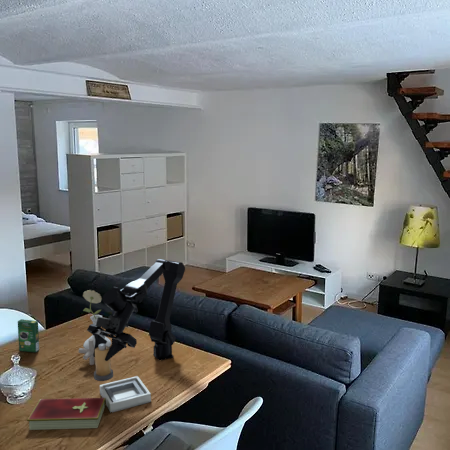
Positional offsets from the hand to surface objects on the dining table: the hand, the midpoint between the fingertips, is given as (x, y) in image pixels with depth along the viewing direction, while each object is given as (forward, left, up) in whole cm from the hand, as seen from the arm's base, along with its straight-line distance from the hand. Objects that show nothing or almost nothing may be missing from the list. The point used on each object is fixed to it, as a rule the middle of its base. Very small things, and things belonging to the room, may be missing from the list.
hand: (99, 358), depth 159 cm
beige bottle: (-1, -1, -7) cm, 7 cm away
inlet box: (-7, +5, -13) cm, 16 cm away
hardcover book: (+13, +9, -14) cm, 21 cm away
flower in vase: (-8, -39, -14) cm, 42 cm away
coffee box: (+17, -49, -14) cm, 53 cm away
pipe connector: (-3, -25, -14) cm, 28 cm away
